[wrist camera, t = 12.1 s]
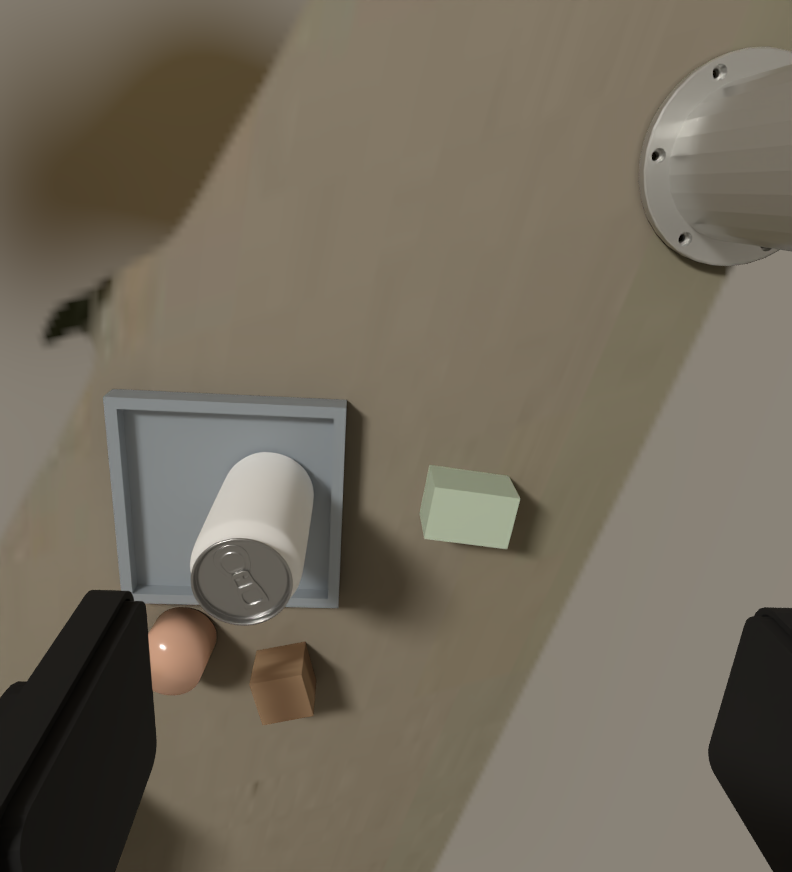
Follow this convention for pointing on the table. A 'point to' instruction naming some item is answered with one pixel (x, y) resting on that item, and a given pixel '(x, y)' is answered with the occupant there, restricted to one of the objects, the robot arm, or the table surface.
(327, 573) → the tray
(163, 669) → the brown egg
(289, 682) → the walnut block
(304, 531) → the can
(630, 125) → the table surface
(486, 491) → the sage block
